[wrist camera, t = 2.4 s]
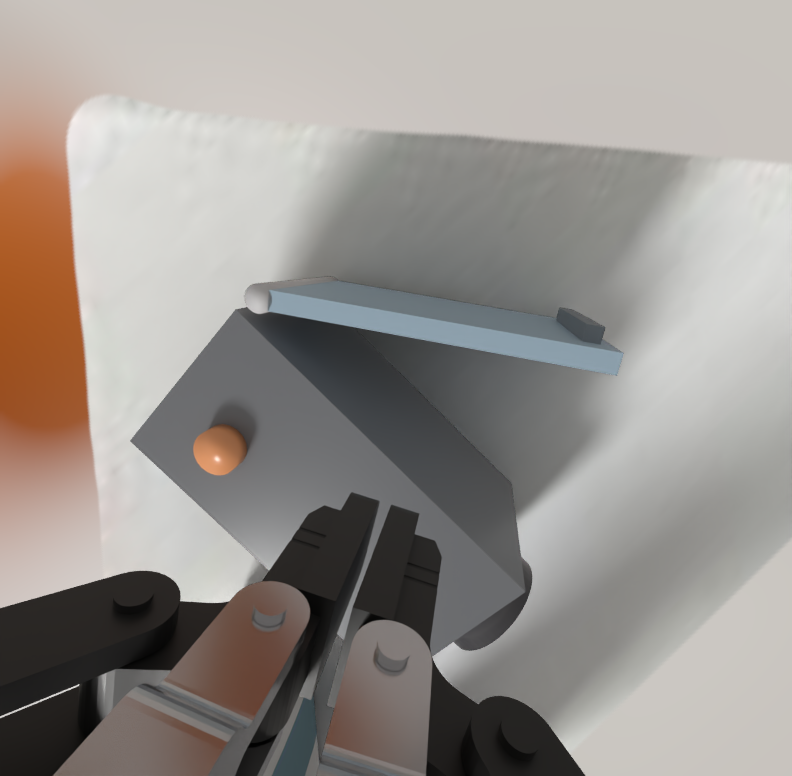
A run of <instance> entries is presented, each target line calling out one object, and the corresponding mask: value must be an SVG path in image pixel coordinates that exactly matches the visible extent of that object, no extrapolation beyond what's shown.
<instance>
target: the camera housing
mask: <svg viewBox="0 0 792 776" xmlns="http://www.w3.org/2000/svg"><path fill="white" fill-rule="evenodd" d="M130 441H131V442H132V443H133V444H134V445H135V446H136V447H137V448H138V449H139V450H140V451H141V452H142V453H144V454H145V455H146V456H147V457H148V458H149V459H150V460H151V461H152V462H153V463H154V464H155V465H156V466H157V467H159V468H160V469H161V470H162V471H163V472H164V473H165V474H166V475H167V476H168V477H169V478H170V479H171V480H172V481H173V482H175V483H176V484H177V485H178V486H179V487H180V488H181V489H182V490H183V491H184V492H185V493H186V494H187V495H188V496H190V497H191V498H192V499H193V500H194V501H195V502H196V503H197V504H198V505H199V506H200V507H201V508H202V509H203V510H205V511H206V512H207V513H208V514H209V515H210V516H211V517H212V518H213V519H214V520H215V521H216V522H217V523H218V524H219V525H221V526H222V527H223V528H224V529H225V530H226V531H227V532H228V533H229V534H230V535H231V536H232V537H233V538H234V539H236V540H237V541H238V542H239V543H240V544H241V545H242V546H243V547H244V548H245V549H246V550H247V551H248V552H249V553H251V554H252V555H253V556H254V557H255V558H256V559H257V560H258V561H259V562H260V563H261V564H262V565H263V566H264V567H266V568H267V569H268V570H270V569H271V568H272V566H273V565H274V563H275V562H276V560H277V559H278V557H279V556H280V554H281V553H282V552H283V550H284V549H285V547H286V546H287V544H288V543H289V541H291V539H292V537H293V536H294V534H295V533H296V531H297V530H299V527H300V525H301V524H302V523H303V521H304V520H305V518H306V517H307V515H308V514H309V513H311V512H313V511H315V510H317V509H318V508H320V507H322V506H324V505H325V506H328V507H331V508H334V509H338V510H341V509H342V507H343V506H344V504H345V502H346V500H347V499H348V497H349V495H350V493H351V492H353V493H356V494H359V495H362V496H366V497H369V498H372V499H375V500H378V501H380V503H379V508H378V512H377V516H376V519H375V523H374V527H373V531H372V535H371V538H370V542H369V546H368V550H367V553H366V557H365V560H364V564H363V567H362V570H361V573H360V576H359V579H358V581H357V584H356V587H355V589H354V592H353V594H352V597H351V599H350V602H349V604H348V607H347V610H346V612H345V615H344V617H343V620H342V622H341V625H340V627H339V630H338V633H337V635H338V636H339V637H340V638H341V639H343V640H344V638H345V634H346V630H347V626H348V623H349V619H350V615H351V611H352V608H353V605H354V602H355V599H356V597H357V594H358V591H359V589H360V586H361V583H362V581H363V578H364V575H365V573H366V570H367V567H368V565H369V562H370V559H371V557H372V554H373V551H374V549H375V546H376V544H377V541H378V538H379V536H380V533H381V530H382V528H383V525H384V522H385V520H386V517H387V514H388V512H389V509H390V506H391V505H394V506H398V507H401V508H404V509H407V510H410V511H413V512H417V513H419V518H418V522H417V526H416V530H415V534H416V535H419V536H422V537H425V538H428V539H431V540H435V542H436V544H437V546H438V549H439V551H440V554H441V556H442V560H441V567H440V574H439V582H438V587H437V596H436V604H435V611H434V618H433V626H432V633H431V640H430V649H431V655H432V656H433V655H435V654H436V653H438V652H439V651H441V650H442V649H444V648H445V647H446V646H448V645H449V644H451V643H452V642H454V643H455V644H456V645H457V646H459V647H460V648H461V649H463V650H469V651H472V650H477V649H480V648H483V647H485V646H487V645H489V644H490V643H492V642H493V641H495V640H496V639H498V638H499V637H500V636H501V635H502V634H503V633H504V632H505V631H506V630H507V629H508V628H509V627H510V626H511V625H512V624H513V622H514V621H515V620H516V618H517V617H518V615H519V614H520V612H521V611H522V609H523V607H524V605H525V603H526V601H527V599H528V596H529V593H530V590H531V585H532V571H531V568H530V566H529V564H528V563H527V562H526V561H525V560H524V559H523V558H522V557H521V553H520V545H519V538H518V530H517V522H516V515H515V507H514V499H513V492H512V484H511V483H510V482H509V481H508V480H507V479H506V478H505V477H504V476H503V475H502V474H501V473H500V472H499V471H498V470H497V469H496V468H495V467H494V466H493V465H492V464H491V463H490V462H489V461H488V460H487V459H486V458H485V457H484V456H483V455H482V454H481V453H480V452H479V451H478V450H477V449H476V448H475V447H474V446H473V445H472V444H471V443H470V442H469V441H468V440H467V439H466V438H465V437H464V436H463V435H462V434H461V433H460V432H459V431H458V430H457V429H456V428H455V427H454V426H453V425H452V424H451V423H450V422H449V421H448V420H447V419H446V418H445V417H444V416H443V415H442V414H441V413H440V412H439V411H438V410H437V409H435V408H434V407H433V406H432V405H431V404H430V403H429V402H428V401H427V400H426V399H425V398H424V397H423V396H422V395H421V394H420V393H419V392H418V391H417V390H416V389H415V388H414V387H413V386H412V385H411V384H410V383H409V382H408V381H407V380H406V379H405V378H404V377H403V376H402V375H401V374H400V373H399V372H398V371H397V370H396V369H395V368H394V367H393V366H392V365H391V364H390V363H389V362H388V361H387V360H386V359H385V358H384V357H383V356H382V355H381V354H380V353H379V352H378V351H377V350H376V349H375V348H374V347H373V346H372V345H371V344H370V343H369V342H368V341H367V340H366V339H365V338H364V337H363V336H362V335H361V334H360V333H359V332H358V331H357V330H356V329H355V328H354V327H350V326H345V325H339V324H334V323H329V322H323V321H318V320H312V319H307V318H301V317H296V316H291V315H285V314H280V313H274V312H267V313H262V314H257V313H254V312H252V311H251V310H250V309H249V308H248V307H246V308H241V309H236V310H235V311H234V312H233V314H232V315H231V316H230V317H229V319H228V320H227V321H226V322H225V324H224V325H223V326H222V327H221V329H220V330H219V331H218V332H217V333H216V335H215V336H214V337H213V338H212V340H211V341H210V342H209V343H208V345H207V346H206V347H205V348H204V350H203V351H202V352H201V353H200V355H199V356H198V357H197V358H196V360H195V361H194V362H193V363H192V365H191V366H190V367H189V368H188V370H187V371H186V372H185V373H184V375H183V376H182V377H181V378H180V379H179V381H178V382H177V383H176V384H175V386H174V387H173V388H172V389H171V391H170V392H169V393H168V394H167V396H166V397H165V398H164V399H163V401H162V402H161V403H160V404H159V406H158V407H157V408H156V409H155V411H154V412H153V413H152V414H151V416H150V417H149V418H148V419H147V421H146V422H145V423H144V424H143V425H142V427H141V428H140V429H139V430H138V432H137V433H136V434H135V435H134V437H133V438H132V439H131V440H130Z"/></svg>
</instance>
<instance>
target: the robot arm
mask: <svg viewBox="0 0 792 776" xmlns="http://www.w3.org/2000/svg"><path fill="white" fill-rule="evenodd" d="M379 503H380V501H378V500H375V499H372V498H369V497H366V496H362V495H359V494H356V493H353V492H351V493H350V495H349V497H348V499H347V500H346V502H345V504H344V506H343V507H342V509H341V510H338V509H334V508H331V507H328V506H325V505H324V506H322V507H320V508H318V509H317V510H315V511H313V512H311V513H309V514H308V515H307V517H306V518H305V520H304V521H303V523H302V524H301V525H300V527H299V530H297V531H296V533H295V534H294V536H293V537H292V539H291V541H289V543H288V544H287V546H286V547H285V549H284V550H283V552H282V553H281V554H280V556H279V557H278V559H277V560H276V562H275V563H274V565H273V566H272V568H271V569H270V570H269V572H268V573H267V575H266V576H265V578H264V579H263V581H262V582H258V583H254V584H251V585H248V586H246V587H244V588H243V589H241V590H240V591H239V592H238V593H237V594H236V595H235V596H234V597H233V598H232V599H231V600H230V601H229V602H224V603H199V602H183V601H180V590H179V588H178V586H177V584H176V583H175V582H174V581H173V580H172V579H171V578H169V577H167V576H166V575H163V574H161V573H157V572H152V571H134V572H128V573H123V574H120V575H116V576H112V577H109V578H105V579H102V580H98V581H95V582H91V583H88V584H85V585H81V586H77V587H74V588H70V589H67V590H63V591H60V592H56V593H53V594H49V595H46V596H42V597H39V598H35V599H31V600H28V601H24V602H21V603H17V604H14V605H10V606H7V607H3V608H0V716H2V715H4V714H7V713H9V712H12V711H14V710H17V709H19V708H21V707H24V706H26V705H29V704H31V703H34V702H36V701H39V700H41V699H44V698H46V697H48V696H51V695H53V694H56V693H58V692H61V691H63V690H66V689H68V688H71V687H73V686H75V685H78V684H80V685H79V686H78V687H76V688H73V689H71V690H69V691H66V692H64V693H61V694H59V695H57V696H54V697H51V698H49V699H47V700H44V701H42V702H39V703H37V704H34V705H32V706H29V707H27V708H25V709H22V710H20V711H17V712H15V713H12V714H10V715H8V716H5V717H3V718H0V776H263V775H264V772H265V770H266V768H267V766H268V764H269V762H270V760H271V758H272V756H273V754H274V752H275V750H276V748H277V746H278V744H279V742H280V739H281V737H282V734H283V730H284V726H285V725H286V723H287V722H288V720H289V718H290V715H291V713H292V711H293V708H294V706H295V704H296V701H297V699H298V697H299V696H301V697H304V698H307V699H309V700H311V699H312V697H313V694H314V691H315V689H316V686H317V684H318V681H319V679H320V676H321V674H322V671H323V668H324V666H325V663H326V661H327V658H328V656H329V653H330V650H331V648H332V645H333V643H334V640H335V638H336V635H337V633H338V630H339V627H340V625H341V622H342V620H343V617H344V615H345V612H346V610H347V607H348V604H349V602H350V599H351V597H352V594H353V592H354V589H355V587H356V584H357V581H358V579H359V576H360V573H361V570H362V567H363V564H364V560H365V557H366V553H367V550H368V546H369V542H370V538H371V535H372V531H373V527H374V523H375V519H376V516H377V512H378V508H379ZM418 518H419V513H417V512H413V511H410V510H407V509H404V508H401V507H398V506H394V505H391V506H390V509H389V512H388V514H387V517H386V520H385V522H384V525H383V528H382V530H381V533H380V536H379V538H378V541H377V544H376V546H375V549H374V551H373V554H372V557H371V559H370V562H369V565H368V567H367V570H366V573H365V575H364V578H363V581H362V583H361V586H360V589H359V591H358V594H357V597H356V599H355V602H354V605H353V608H352V611H351V615H350V619H349V623H348V626H347V630H346V634H345V638H344V642H343V645H342V649H341V653H340V657H339V661H338V664H337V668H336V672H335V676H334V679H333V683H332V687H331V691H330V695H329V698H328V702H327V706H329V707H332V708H334V711H333V715H332V719H331V722H330V726H329V730H328V734H327V737H326V741H325V744H324V748H323V752H322V755H321V759H320V763H319V766H318V770H317V774H316V776H585V775H584V774H583V772H582V770H581V769H580V768H579V767H578V765H577V764H576V762H575V761H574V759H573V758H572V757H571V755H570V754H569V753H568V751H567V750H566V748H565V747H564V746H563V744H562V743H561V742H560V740H559V739H558V737H557V736H556V735H555V733H554V732H553V731H552V729H551V728H550V726H549V725H548V724H547V723H546V722H545V720H544V719H543V718H542V717H541V716H540V715H539V714H538V713H537V712H535V711H534V710H533V709H532V708H530V707H529V706H527V705H525V704H524V703H522V702H520V701H518V700H515V699H512V698H509V697H504V696H494V697H489V698H487V699H485V700H483V701H482V702H480V703H479V704H477V703H475V702H474V701H472V700H471V699H469V698H468V697H466V696H465V695H464V694H462V693H461V692H459V691H458V690H457V689H455V688H454V687H453V686H452V685H451V684H450V683H449V682H448V681H446V679H445V678H444V677H443V676H442V675H441V673H440V672H439V670H438V669H437V667H436V665H435V663H434V661H433V658H432V655H431V649H430V640H431V633H432V626H433V618H434V611H435V604H436V596H437V587H438V582H439V574H440V567H441V560H442V556H441V554H440V551H439V549H438V546H437V544H436V542H435V540H431V539H428V538H425V537H422V536H419V535H416V534H415V530H416V526H417V522H418Z"/></svg>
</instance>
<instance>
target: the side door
mask: <svg viewBox="0 0 792 776" xmlns="http://www.w3.org/2000/svg"><path fill="white" fill-rule="evenodd" d="M244 299H245V303H246V305H247V307H248V308H249V309H250V310H251V311H252V312H254V313H257V314H262V313H267V312H274V313H280V314H285V315H291V316H296V317H301V318H307V319H312V320H318V321H323V322H329V323H334V324H339V325H345V326H350V327H356V328H361V329H367V330H372V331H377V332H383V333H388V334H394V335H399V336H405V337H410V338H415V339H421V340H426V341H432V342H437V343H442V344H448V345H453V346H459V347H464V348H470V349H475V350H480V351H486V352H491V353H497V354H502V355H508V356H513V357H518V358H524V359H529V360H535V361H540V362H546V363H551V364H556V365H562V366H567V367H573V368H578V369H583V370H589V371H594V372H600V373H605V374H611V375H616V376H617V374H618V370H619V367H620V364H621V360H622V357H623V354H624V353H623V352H621V351H620V350H618V349H617V348H615V347H613V346H612V345H610V344H609V343H607V342H606V341H604V340H603V339H602V338H603V334H604V331H605V327H604V326H602V325H600V324H598V323H597V322H595V321H593V320H591V319H589V318H587V317H585V316H583V315H582V314H580V313H578V312H576V311H574V310H571V309H565V308H559V311H558V315H557V318H552V317H546V316H541V315H535V314H529V313H523V312H517V311H512V310H506V309H500V308H494V307H488V306H482V305H477V304H471V303H465V302H459V301H453V300H448V299H442V298H436V297H430V296H424V295H418V294H413V293H407V292H401V291H395V290H389V289H383V288H378V287H372V286H366V285H360V284H354V283H349V282H343V281H338V280H337V279H336V278H334V277H331V276H330V277H319V278H309V279H299V280H288V281H278V282H268V283H258V284H252V285H250V286H249V287H248V288H247V289H246V291H245V295H244Z"/></svg>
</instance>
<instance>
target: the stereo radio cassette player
mask: <svg viewBox="0 0 792 776" xmlns="http://www.w3.org/2000/svg"><path fill="white" fill-rule="evenodd" d="M318 766H319V754H318V743H317V731H316V718H315V707H314V696H313V697H312V699H311V700H309V699H307V698H304V697H301V696H299V697H298V699H297V701H296V704H295V706H294V708H293V711H292V713H291V715H290V718H289V720H288V722H287V723H286V725H285V726H284V730H283V734H282V737H281V739H280V742H279V744H278V746H277V748H276V750H275V752H274V754H273V756H272V758H271V760H270V762H269V764H268V766H267V768H266V770H265V772H264V775H263V776H316V774H317V770H318Z"/></svg>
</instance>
